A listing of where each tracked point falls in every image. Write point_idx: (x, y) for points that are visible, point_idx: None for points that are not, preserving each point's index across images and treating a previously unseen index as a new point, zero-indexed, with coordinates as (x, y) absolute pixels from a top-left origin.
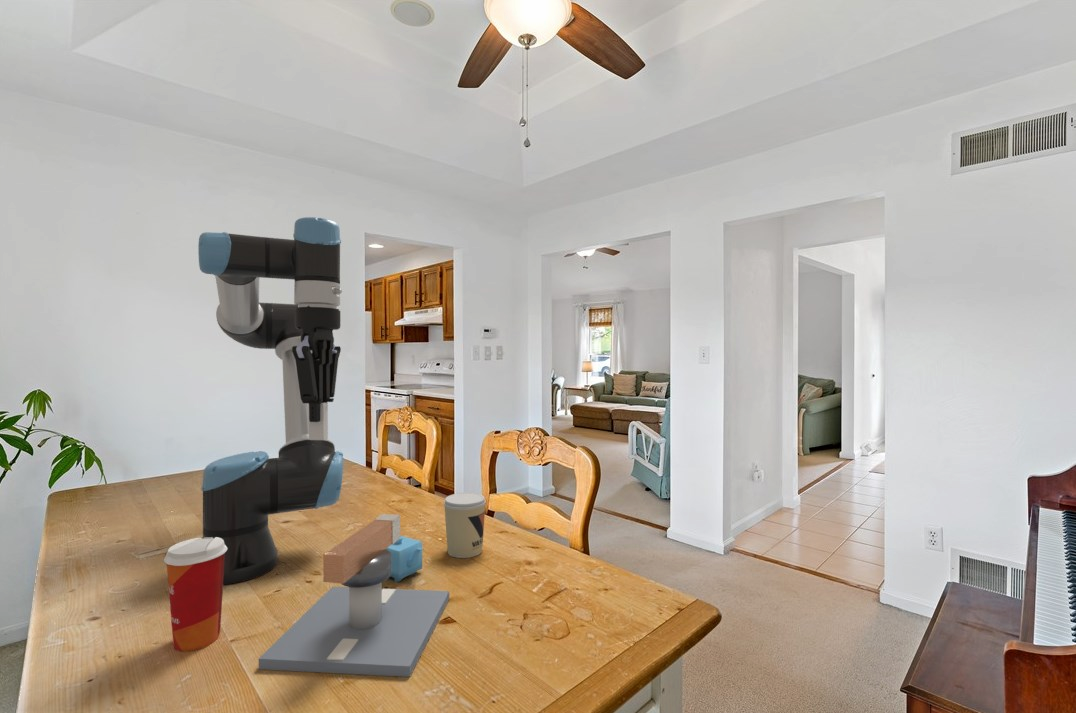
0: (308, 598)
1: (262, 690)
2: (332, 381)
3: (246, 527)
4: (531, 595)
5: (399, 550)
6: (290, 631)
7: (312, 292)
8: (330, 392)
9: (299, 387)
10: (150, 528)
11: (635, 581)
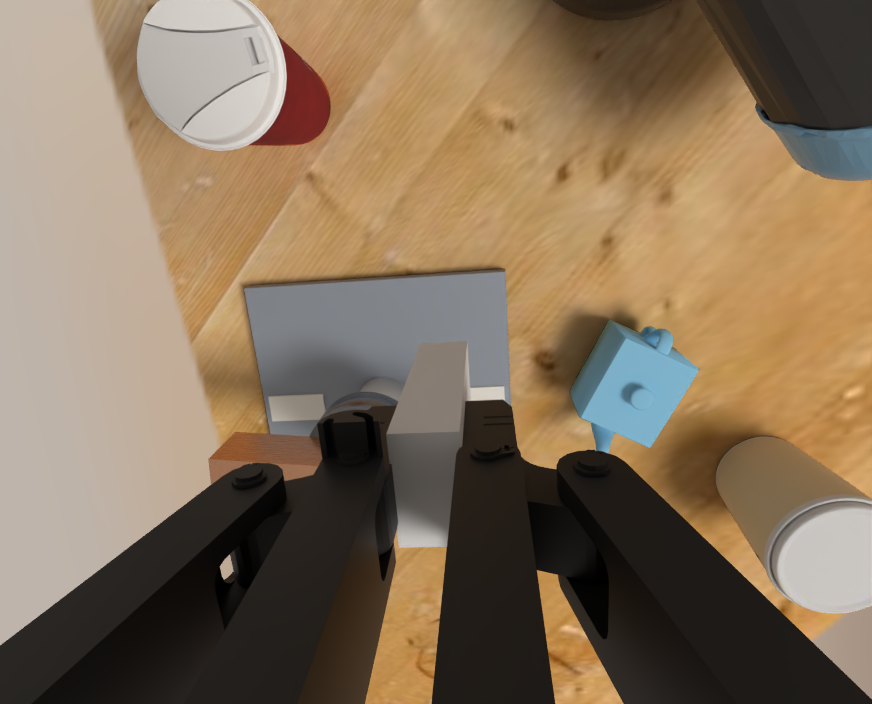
0: (482, 224)
1: (212, 324)
2: (622, 691)
3: None
4: (545, 625)
5: (586, 415)
6: (325, 291)
7: None
8: (564, 587)
9: (140, 541)
10: None
11: None
